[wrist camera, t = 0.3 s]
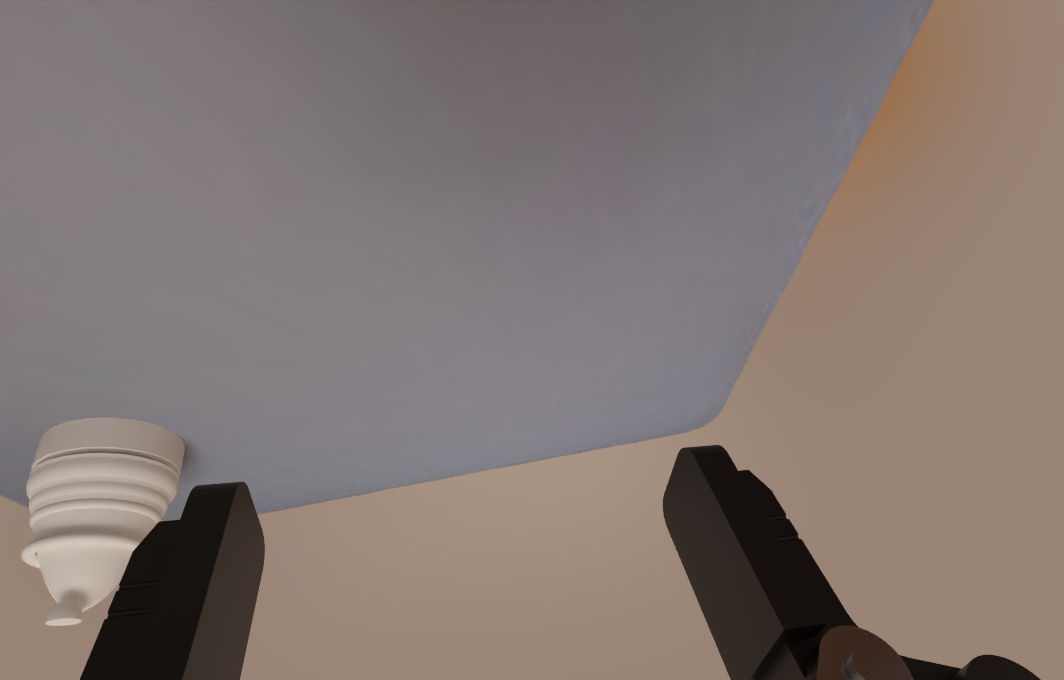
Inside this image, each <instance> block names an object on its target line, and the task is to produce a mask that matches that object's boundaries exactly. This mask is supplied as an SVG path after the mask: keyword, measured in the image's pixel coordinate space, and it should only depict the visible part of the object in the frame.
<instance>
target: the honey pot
mask: <svg viewBox="0 0 1064 680" xmlns="http://www.w3.org/2000/svg"><path fill="white" fill-rule="evenodd" d="M184 451H185V446H184V443H183V440H181V439H180V438H179V437H178V436H177V435H176V434H175V433H173V432H171V431H169V430H167V429H165V428H162V427H159V426H156V425H153V424H150V423H146V422H141V421H136V420H130V419H119V418H88V419H80V420H73V421H69V422H65V423H62V424H58V425H56V426H54V427H52V428H50V429H49V430H47V431H46V432H45V433H44V435H43V436H42V437H41V440H40V443H39V446H38V449H37V452H36V455H35V458H34V461H33V465H32V471H31V472H30V478H29V480H28V481H27V496H28V498H29V499H30V502H29V511H30V513H31V517H30V526H31V528H32V529H33V531H34V539H35V541H33V542H30V543H28V544H27V545H26V546H25V547H24V548H23V549H22V551H21V558H22V560H23V561H24V562H26V563H27V564H29V565H31V566H34V567H36V568H40V569H41V572H42V575H43V578H44V581H45V583H46V586H47V588H48V590H49V592H50V594H51V595H52V597H53V598H54V600H55V601H56V602H57V603H58V604H57V605H56V606H55V607H54V608H53V609H52V610H51V612H50V613H49V615H48V617H47V619H46V622H45V624H46V625H51V626H65V625H72V624H77V623H80V622H81V621H82V612H83V611H85V610H86V609H89V608H90V607H92V606H94V605H96V604H97V603H98V602H100V601H101V600H103V599H104V598H105V597H106V596H107V595H108V594H109V593H110V592H111V591H112V590H113V589H114V588H115V587H116V586H117V585H118V584H119V583H120V581H121V579H122V576H123V574H124V572H125V569H126V567H127V564H128V562H129V559H130V557H131V555H132V552H133V551H134V549H135V548H136V547H137V546H138V545H139V544H140V543H141V541H142V540H143V539H144V538H145V537H146V536H147V535H148V533H149V532H150V531H151V530H152V529H153V528H154V527H155V525H156V524H157V523H158V522H161V520H162V516H163V515H164V514H165V513H166V511H167V508H168V505H169V503H170V502H171V501H172V500H173V499H174V498H175V496H176V493H177V490H178V483H179V480H180V479H179V477H180V474H181V469H182V463H183V457H184ZM36 552H37V553H36Z"/></svg>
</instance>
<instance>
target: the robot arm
mask: <svg viewBox="0 0 1064 680" xmlns="http://www.w3.org/2000/svg"><path fill="white" fill-rule="evenodd" d="M663 512H664V518H665V522H666V525H667V528H668V530H669V533H670V535H671V538H672V540H673V542H674V545H675V547H676V550H677V552H678V554H679V557H680V559H681V561H682V564H683V566H684V569H685V571H686V574H687V576H688V578H689V581H690V583H691V586H692V588H693V590H694V593H695V595H696V597H697V600H698V602H699V605H700V607H701V609H702V612H703V614H704V617H705V619H706V621H707V623H708V626H709V629H710V631H711V633H712V636H713V638H714V640H715V643H716V645H717V648H718V650H719V653H720V655H721V657H722V659H723V662H724V664H725V667H726V669H727V672H728V674H729V676H730V679H731V680H1040V679H1039V678H1038V677H1037V676H1036V675H1034V674H1033V673H1032V672H1030V671H1029V670H1027V669H1026V668H1024V667H1023V666H1021V665H1019V664H1017V663H1015V662H1013V661H1011V660H1009V659H1006V658H1003V657H1000V656H995V655H982V656H978V657H976V658H974V659H973V660H971V661H970V662H969V663H968V664H967V665H966V666H964V667H963V668H962V669H960V668H955V667H950V666H946V665H941V664H936V663H931V662H926V661H922V660H917V659H912V658H908V657H905V656H901V655H898V653H897V652H896V651H895V650H894V649H893V648H892V647H891V646H890V645H888V644H887V643H886V642H885V641H884V640H882V639H881V638H879V637H878V636H876V635H875V634H873V633H871V632H869V631H867V630H864V629H861V628H859V627H858V626H857V625H856V624H855V623H854V622H853V621H852V619H851V618H850V616H849V615H848V613H847V612H846V610H845V609H844V607H843V605H842V604H841V602H840V601H839V599H838V598H837V596H836V594H835V593H834V591H833V589H832V588H831V586H830V585H829V583H828V581H827V580H826V578H825V576H824V575H823V573H822V572H821V570H820V568H819V567H818V565H817V564H816V562H815V560H814V559H813V557H812V555H811V554H810V552H809V551H808V549H807V547H806V546H805V544H804V543H803V541H802V539H799V538H798V533H797V531H796V530H795V528H794V526H793V525H792V523H791V522H790V520H789V519H787V518H786V513H785V512H784V510H783V509H782V507H781V506H780V504H779V502H778V501H777V499H776V497H775V496H774V494H773V492H772V491H771V490H770V489H769V488H768V487H767V486H766V485H765V484H764V483H763V482H761V481H760V480H759V479H758V478H757V477H756V476H755V475H754V474H752V473H751V472H750V471H749V470H743V471H738V470H737V468H736V466H735V465H734V463H733V461H732V460H731V458H730V456H729V455H728V453H727V451H726V450H725V449H724V448H723V447H722V446H720V445H712V446H700V447H687V448H682V449H681V450H680V451H679V453H678V456H677V458H676V461H675V464H674V467H673V470H672V473H671V476H670V479H669V482H668V485H667V487H666V490H665V493H664V497H663ZM264 550H265V546H264V536H263V531H262V528H261V525H260V522H259V519H258V516H257V513H256V510H255V507H254V504H253V501H252V498H251V495H250V492H249V489H248V487H247V485H246V483H245V482H235V483H222V484H210V485H198V486H195V487H194V488H193V489H192V491H191V492H190V494H189V497H188V499H187V502H186V505H185V508H184V511H183V513H182V516H181V519H180V520H173V521H162V522H158V523H157V524H156V525H155V527H154V528H153V529H152V530H151V531H150V532H149V533H148V535H147V536H146V537H145V538H144V539H143V540H142V541H141V543H140V544H139V545H138V546H137V547H136V548H135V549H134V551H133V552H132V555H131V557H130V559H129V562H128V564H127V567H126V569H125V572H124V574H123V576H122V579H121V581H120V584H119V585H120V588H119V591H116V593H115V596H114V598H113V601H112V603H111V605H110V608H109V610H108V618H107V619H105V620H104V622H103V625H102V627H101V630H100V632H99V635H98V637H97V639H96V642H95V644H94V646H93V649H92V651H91V654H90V656H89V659H88V661H87V664H86V666H85V668H84V671H83V673H82V675H81V678H80V680H240V675H241V671H242V666H243V661H244V657H245V652H246V647H247V643H248V638H249V633H250V628H251V623H252V619H253V614H254V609H255V604H256V599H257V595H258V590H259V585H260V580H261V576H262V571H263V565H264V553H265V551H264Z"/></svg>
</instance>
